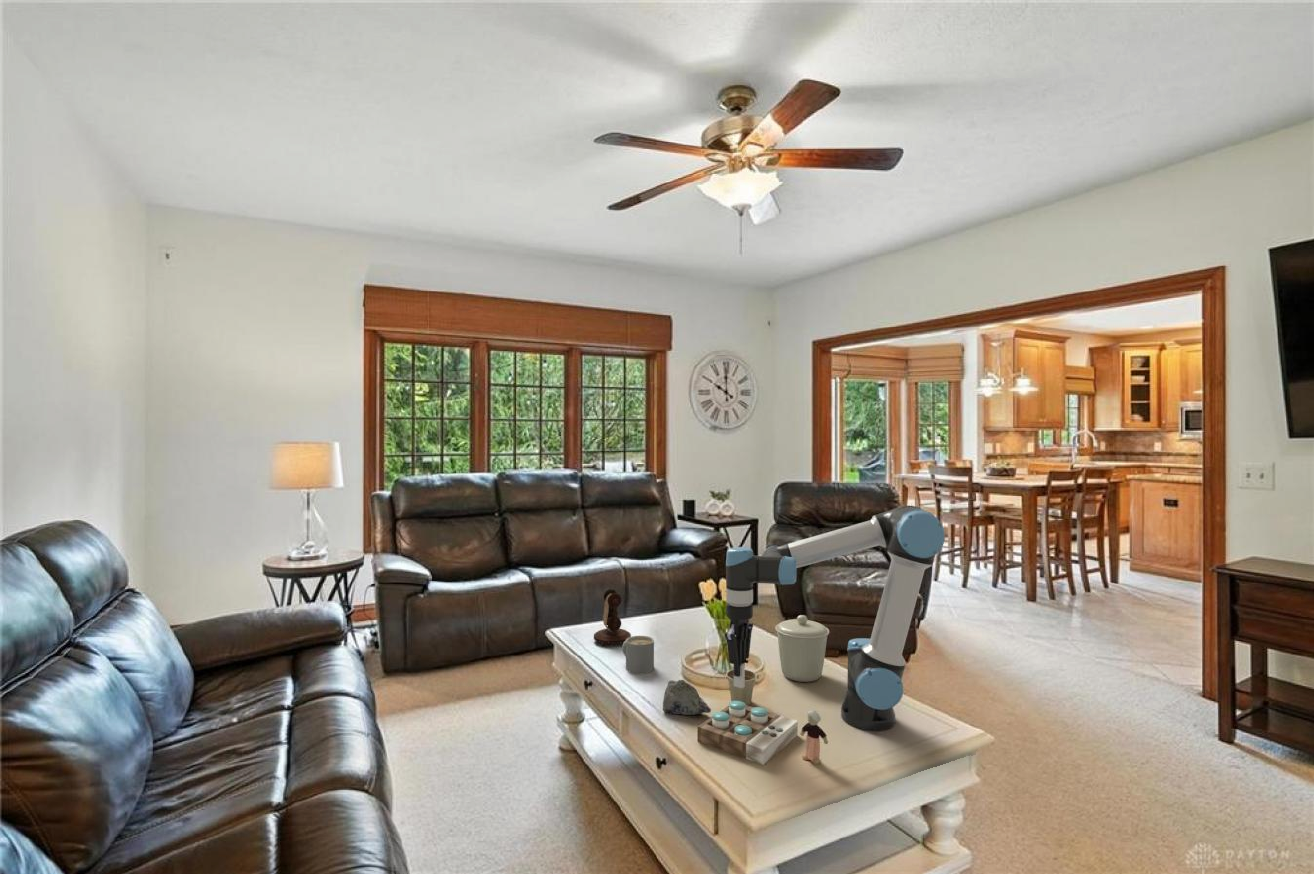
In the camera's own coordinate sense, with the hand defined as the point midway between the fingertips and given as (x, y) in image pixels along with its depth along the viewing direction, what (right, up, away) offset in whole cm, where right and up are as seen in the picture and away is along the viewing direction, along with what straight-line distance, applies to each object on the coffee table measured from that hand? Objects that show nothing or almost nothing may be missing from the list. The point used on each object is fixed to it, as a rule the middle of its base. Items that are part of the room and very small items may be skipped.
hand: (739, 686), depth 180 cm
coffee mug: (-30, -12, +47) cm, 57 cm away
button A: (+5, -10, -2) cm, 12 cm away
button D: (-6, -10, -5) cm, 13 cm away
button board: (+2, -12, -5) cm, 13 cm away
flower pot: (+3, -12, +18) cm, 22 cm away
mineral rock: (-15, -12, +10) cm, 21 cm away
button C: (0, -10, +2) cm, 10 cm away
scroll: (-41, -11, +74) cm, 85 cm away
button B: (0, -12, -9) cm, 15 cm away
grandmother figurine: (+17, -13, -16) cm, 27 cm away
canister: (+27, -12, +39) cm, 49 cm away
